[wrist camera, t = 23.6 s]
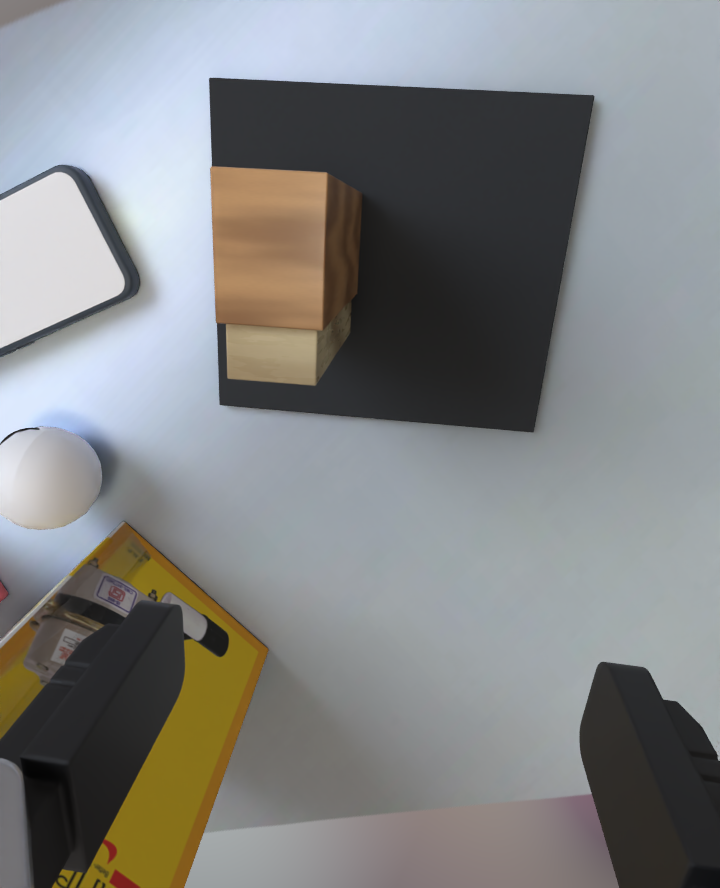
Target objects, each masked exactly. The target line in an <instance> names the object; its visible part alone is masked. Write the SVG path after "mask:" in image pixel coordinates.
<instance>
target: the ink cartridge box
mask: <svg viewBox="0 0 720 888" xmlns="http://www.w3.org/2000/svg"><path fill="white" fill-rule="evenodd" d="M7 596H8V592H7V591H6V589H5V588H4V586H3V584H2V583H1V581H0V602H1V601H2V600H4V599H5V598H6V597H7Z"/></svg>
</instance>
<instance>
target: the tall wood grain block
mask: <svg viewBox="0 0 720 888" xmlns="http://www.w3.org/2000/svg"><path fill="white" fill-rule="evenodd" d="M210 174H211V201H212V229H213V256H214V283H215V311H216V323H221V324H226V345H227V377H228V379H236V380H249V381H261V382H274V383H286V384H299V385H311V386H315V385H316V384H317V383H318V381H319V380H320V378H321V377H322V375H323V374H324V372H325V370H326V369H327V367H328V366H329V364H330V363H331V361H332V360H333V358H334V357H335V355H336V354H337V352H338V351H339V349H340V348H341V346H342V345H343V343H344V341H345V340H346V338H347V337H348V335H349V334H350V324H351V304H352V299H353V298H354V296H355V295H356V294H357V289H358V270H359V251H360V231H361V212H362V193H361V192H359V191H358V190H356V189H354V188H352V187H351V186H349V185H347V184H346V183H344V182H342V181H340V180H339V179H337V178H335V177H333V176H332V175H330V174H328V173H327V172H311V171H292V170H273V169H254V168H235V167H216V166H212V167H211V168H210Z"/></svg>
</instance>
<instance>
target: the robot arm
mask: <svg viewBox="0 0 720 888" xmlns="http://www.w3.org/2000/svg"><path fill="white" fill-rule="evenodd" d="M184 675H185V650H184V630H183V613H182V608H181V606H180V605H178V604H170V603H162V602H155V601H147V600H141V601H139V602H138V603H137V604H136V605H135V606H134V607H133V609H132V610H131V611H130V613H129V614H128V615H127V617H126V618H125V619H124V621H123V622H122V623H121V624H120V625H118V624H111V623H108V624H106V625H105V626H103V627H101V628H100V629H98V630H97V631H95V632H94V633H92V634H91V635H89V636H88V637H86V638H85V639H83V640H82V641H81V643H80V644H79V645H78V646H77V647H76V649H75V650H74V651H73V652H72V653H71V655H70V656H69V657H68V658H67V660H66V661H65V664H64V666H61V667H60V668H59V669H58V670H57V672H56V673H55V674H54V675H53V676H52V678H51V679H50V683H49V684H46V685H45V686H44V687H43V689H42V690H41V691H40V692H39V693H38V695H37V696H36V697H35V698H34V699H33V701H32V702H31V703H30V704H29V705H28V707H27V708H26V709H25V710H24V712H23V713H22V714H21V715H20V716H19V718H18V719H17V720H16V721H15V722H14V724H13V725H12V726H11V727H10V728H9V730H8V731H7V732H6V733H5V734H4V736H3V737H2V738H1V739H0V888H52V887H53V885H54V883H55V881H56V879H57V878H58V876H59V874H60V872H61V871H62V869H63V870H69V871H75V872H81V873H87V871H88V869H89V867H90V866H91V864H92V862H93V860H94V858H95V856H96V854H97V852H98V850H99V848H100V846H101V844H102V843H103V841H104V839H105V837H106V835H107V833H108V831H109V829H110V827H111V825H112V823H113V822H114V820H115V818H116V816H117V814H118V812H119V810H120V808H121V806H122V804H123V802H124V801H125V799H126V797H127V795H128V793H129V791H130V789H131V787H132V785H133V783H134V781H135V780H136V778H137V776H138V774H139V772H140V770H141V768H142V766H143V764H144V762H145V760H146V759H147V757H148V755H149V753H150V751H151V749H152V747H153V745H154V743H155V741H156V739H157V738H158V736H159V734H160V732H161V730H162V728H163V726H164V724H165V722H166V720H167V718H168V717H169V715H170V713H171V711H172V709H173V707H174V705H175V703H176V701H177V699H178V697H179V694H180V692H181V688H182V685H183V681H184ZM580 751H581V757H582V761H583V765H584V768H585V772H586V775H587V779H588V782H589V785H590V789H591V792H592V796H593V799H594V802H595V806H596V809H597V813H598V816H599V820H600V823H601V826H602V830H603V833H604V837H605V840H606V843H607V847H608V850H609V854H610V857H611V860H612V864H613V867H614V871H615V874H616V878H617V881H618V885H619V888H720V761H718V758H717V756H718V755H717V753H716V751H715V750H714V748H713V746H712V744H711V742H710V741H709V739H708V737H707V735H706V733H705V731H704V730H703V728H702V727H701V725H700V724H699V723H698V722H697V721H696V720H695V719H694V718H693V717H692V716H691V715H690V714H689V713H688V712H687V711H686V710H685V709H684V708H683V707H682V706H681V705H680V704H679V703H678V702H676V701H669V700H663V698H662V696H661V694H660V692H659V690H658V688H657V686H656V684H655V682H654V680H653V678H652V676H651V675H650V673H649V671H648V670H647V669H646V668H644V667H638V666H631V665H623V664H616V663H608V662H601V663H600V664H599V665H598V667H597V669H596V672H595V675H594V679H593V682H592V686H591V689H590V693H589V696H588V700H587V703H586V707H585V710H584V714H583V717H582V721H581V726H580Z"/></svg>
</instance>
